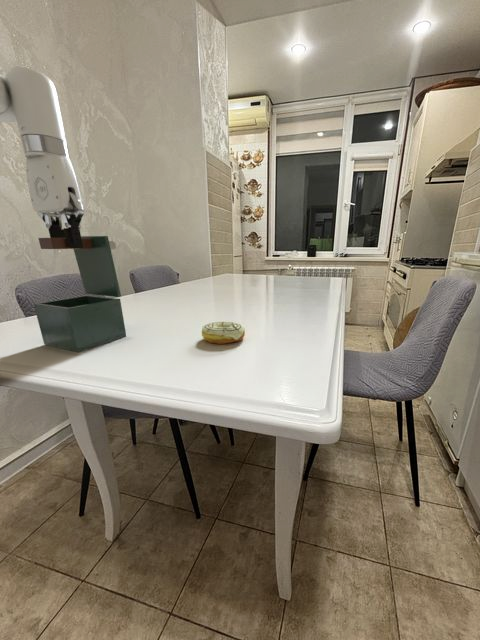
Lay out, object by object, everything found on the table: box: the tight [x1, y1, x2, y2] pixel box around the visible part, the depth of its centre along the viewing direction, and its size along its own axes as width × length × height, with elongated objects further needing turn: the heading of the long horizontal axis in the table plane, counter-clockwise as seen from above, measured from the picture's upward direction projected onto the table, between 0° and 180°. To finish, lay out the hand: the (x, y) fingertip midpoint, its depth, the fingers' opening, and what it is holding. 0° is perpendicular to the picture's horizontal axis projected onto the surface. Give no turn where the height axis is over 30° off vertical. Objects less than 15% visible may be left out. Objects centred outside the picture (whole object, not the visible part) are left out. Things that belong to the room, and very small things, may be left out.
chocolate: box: [38, 237, 93, 250], centre depth 64 cm, size 9×4×2 cm, turn 155°
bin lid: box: [73, 235, 122, 298], centre depth 73 cm, size 14×12×5 cm
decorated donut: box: [201, 321, 246, 345], centre depth 73 cm, size 10×11×4 cm
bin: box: [33, 294, 127, 353], centre depth 70 cm, size 13×12×10 cm
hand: (67, 247), depth 64 cm, fingers closed on chocolate, 4 cm apart
